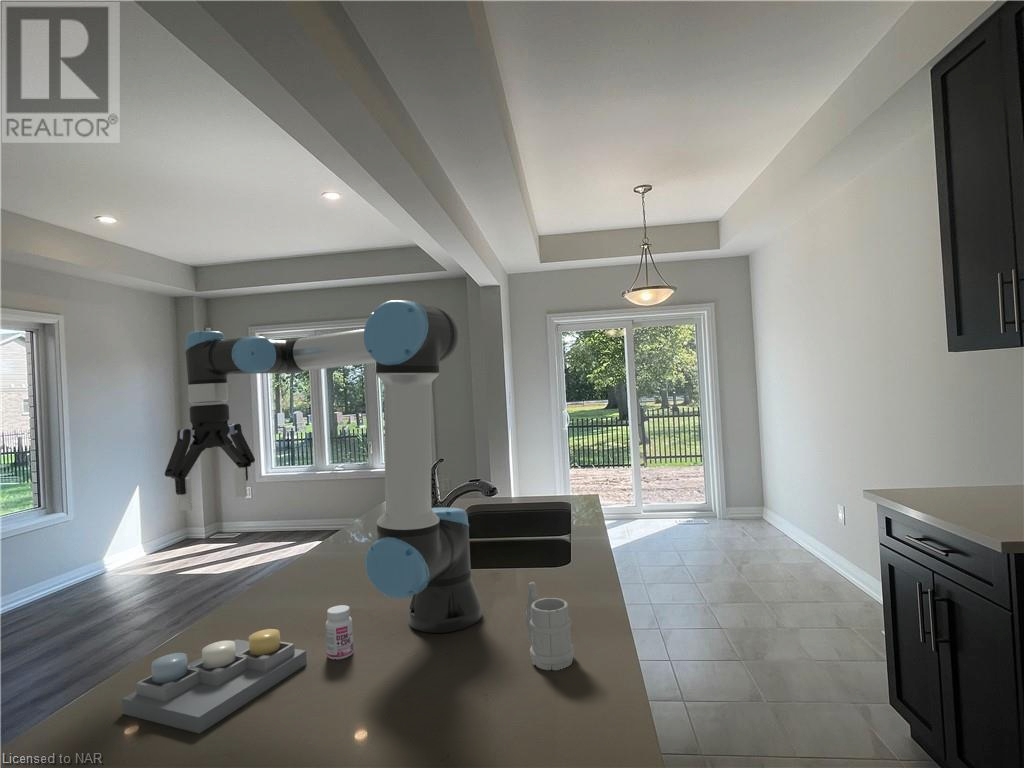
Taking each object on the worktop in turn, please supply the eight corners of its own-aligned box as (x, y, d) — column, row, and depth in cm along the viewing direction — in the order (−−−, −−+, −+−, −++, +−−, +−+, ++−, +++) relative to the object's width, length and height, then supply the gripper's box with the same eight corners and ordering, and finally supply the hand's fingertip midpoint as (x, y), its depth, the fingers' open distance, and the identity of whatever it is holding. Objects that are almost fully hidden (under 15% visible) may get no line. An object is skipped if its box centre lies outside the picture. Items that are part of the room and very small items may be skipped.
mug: (545, 676, 97) (541, 603, 97) (511, 649, 108) (508, 584, 108) (583, 663, 101) (579, 593, 101) (547, 638, 111) (543, 575, 111)
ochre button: (286, 644, 105) (285, 630, 105) (264, 656, 100) (263, 642, 100) (265, 640, 107) (264, 627, 107) (242, 653, 102) (242, 639, 102)
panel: (306, 663, 106) (305, 640, 106) (199, 733, 86) (197, 704, 86) (237, 651, 113) (236, 629, 113) (122, 713, 93) (121, 687, 93)
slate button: (194, 669, 97) (194, 655, 97) (166, 684, 92) (165, 669, 92) (173, 665, 99) (172, 651, 99) (144, 680, 94) (144, 665, 94)
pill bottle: (339, 662, 106) (336, 615, 106) (321, 657, 109) (319, 611, 109) (359, 651, 110) (356, 606, 110) (341, 646, 113) (339, 602, 113)
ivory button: (242, 656, 101) (241, 642, 101) (217, 670, 96) (216, 655, 96) (221, 652, 103) (220, 638, 103) (195, 666, 98) (195, 651, 98)
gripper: (244, 401, 139) (249, 491, 139) (140, 408, 116) (146, 515, 116) (267, 400, 136) (273, 491, 136) (165, 407, 113) (172, 517, 113)
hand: (215, 503), depth 126 cm, fingers open, 13 cm apart
